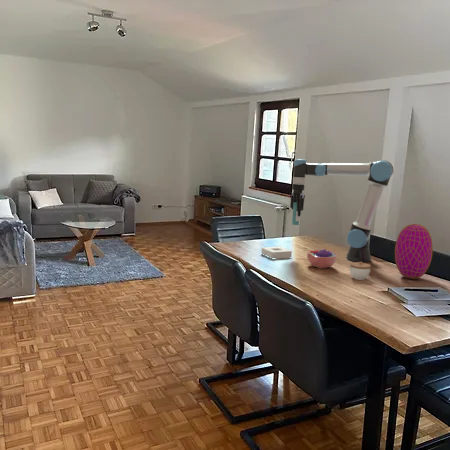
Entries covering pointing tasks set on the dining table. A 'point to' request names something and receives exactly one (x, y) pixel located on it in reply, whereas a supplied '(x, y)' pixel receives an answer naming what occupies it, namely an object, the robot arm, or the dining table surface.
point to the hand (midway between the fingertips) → (295, 220)
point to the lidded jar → (360, 270)
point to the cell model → (321, 258)
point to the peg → (294, 214)
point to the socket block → (276, 252)
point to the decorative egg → (413, 251)
